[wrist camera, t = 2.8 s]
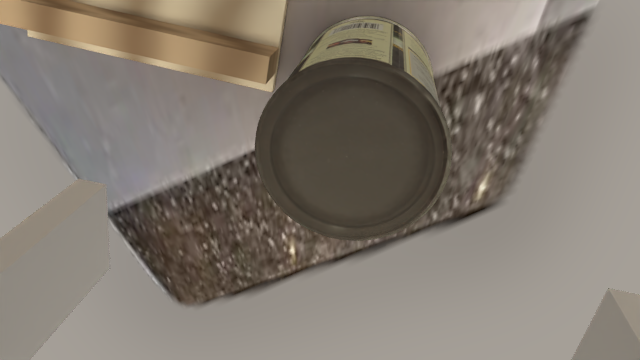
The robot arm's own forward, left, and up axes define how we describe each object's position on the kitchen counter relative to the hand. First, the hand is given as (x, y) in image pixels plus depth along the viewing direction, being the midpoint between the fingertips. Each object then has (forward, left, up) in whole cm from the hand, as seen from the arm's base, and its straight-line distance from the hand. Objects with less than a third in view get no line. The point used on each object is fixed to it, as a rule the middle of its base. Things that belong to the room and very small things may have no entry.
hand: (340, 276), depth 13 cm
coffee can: (0, -3, -28) cm, 28 cm away
